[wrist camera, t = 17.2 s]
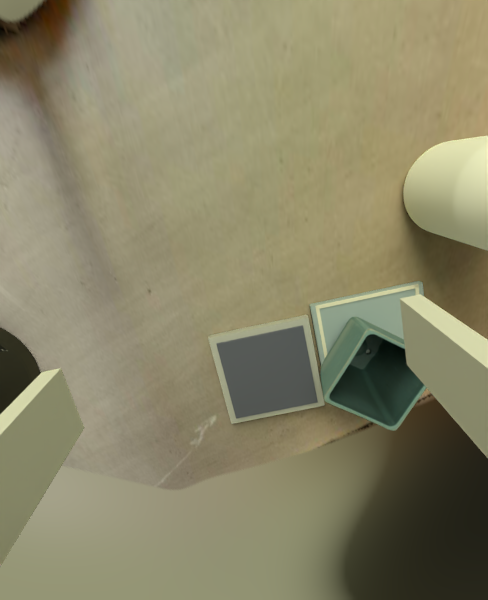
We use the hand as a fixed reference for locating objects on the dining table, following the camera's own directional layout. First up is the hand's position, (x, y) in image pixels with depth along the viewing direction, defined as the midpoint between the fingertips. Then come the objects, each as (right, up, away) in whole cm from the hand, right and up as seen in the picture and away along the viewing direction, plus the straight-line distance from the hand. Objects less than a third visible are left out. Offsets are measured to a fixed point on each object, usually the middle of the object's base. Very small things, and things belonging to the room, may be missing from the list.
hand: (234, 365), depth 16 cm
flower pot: (+14, -3, +33) cm, 36 cm away
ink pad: (+3, -6, +35) cm, 36 cm away
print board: (+16, -2, +34) cm, 37 cm away
